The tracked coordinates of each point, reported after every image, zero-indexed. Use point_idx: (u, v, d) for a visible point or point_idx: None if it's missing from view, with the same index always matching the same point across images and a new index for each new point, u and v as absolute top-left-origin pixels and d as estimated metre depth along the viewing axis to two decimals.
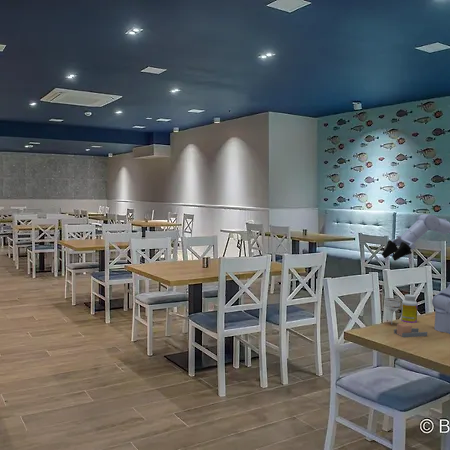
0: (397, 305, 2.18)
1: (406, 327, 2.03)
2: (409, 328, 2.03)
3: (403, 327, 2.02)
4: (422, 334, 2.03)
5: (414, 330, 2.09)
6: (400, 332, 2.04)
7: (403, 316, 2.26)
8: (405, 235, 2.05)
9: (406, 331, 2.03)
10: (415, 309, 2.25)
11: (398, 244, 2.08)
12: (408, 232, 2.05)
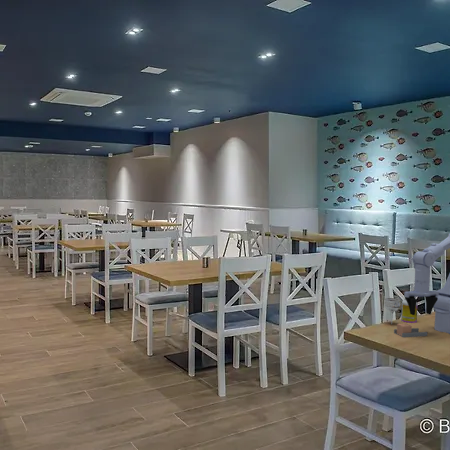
0: (397, 305, 2.18)
1: (406, 327, 2.03)
2: (409, 328, 2.03)
3: (403, 327, 2.02)
4: (422, 334, 2.03)
5: (414, 330, 2.09)
6: (400, 332, 2.04)
7: (403, 316, 2.26)
8: (428, 288, 2.03)
9: (406, 331, 2.03)
10: (415, 309, 2.25)
11: (418, 296, 2.05)
12: (428, 284, 2.03)
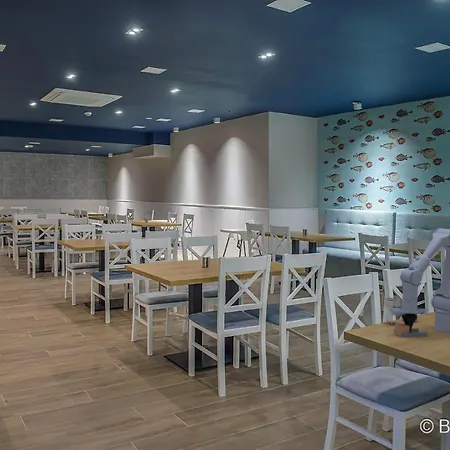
0: (397, 305, 2.18)
1: (404, 327, 2.02)
2: (407, 328, 2.03)
3: (401, 327, 2.02)
4: (422, 334, 2.03)
5: (414, 330, 2.09)
6: (398, 332, 2.03)
7: None
8: (415, 306, 2.02)
9: (404, 331, 2.03)
10: None
11: (406, 314, 2.04)
12: (416, 302, 2.02)
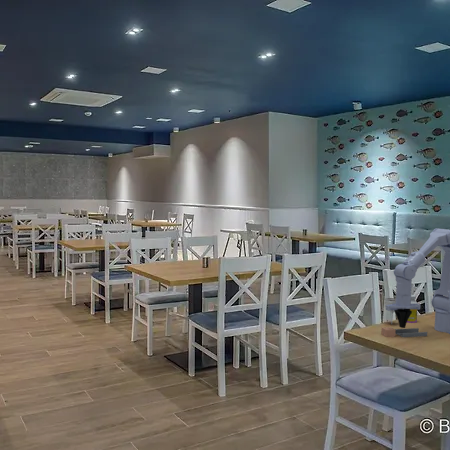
0: None
1: (387, 335, 2.01)
2: (388, 332, 2.01)
3: None
4: (422, 334, 2.03)
5: (414, 330, 2.09)
6: None
7: None
8: (409, 301, 2.02)
9: (390, 335, 2.02)
10: (415, 309, 2.25)
11: (399, 309, 2.03)
12: (409, 297, 2.01)
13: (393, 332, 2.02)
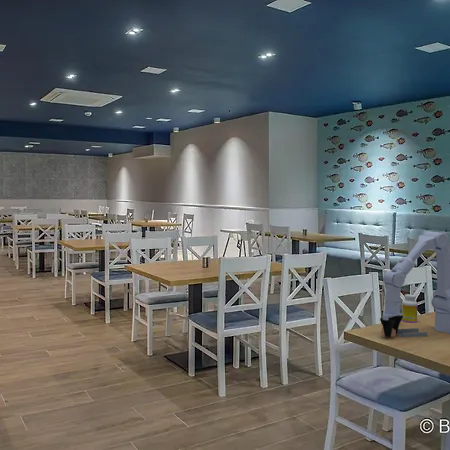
0: None
1: None
2: None
3: None
4: (422, 334, 2.03)
5: (414, 330, 2.09)
6: None
7: (403, 316, 2.26)
8: (399, 308, 2.02)
9: None
10: (415, 309, 2.25)
11: (391, 317, 2.02)
12: (399, 303, 2.02)
13: (393, 332, 2.02)
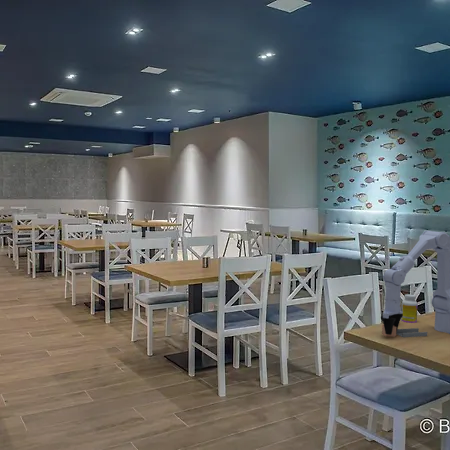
0: None
1: None
2: None
3: (387, 336, 2.02)
4: (422, 334, 2.03)
5: (414, 330, 2.09)
6: None
7: (403, 316, 2.26)
8: (399, 306, 2.02)
9: None
10: (415, 309, 2.25)
11: (391, 315, 2.02)
12: None
13: (394, 329, 2.02)
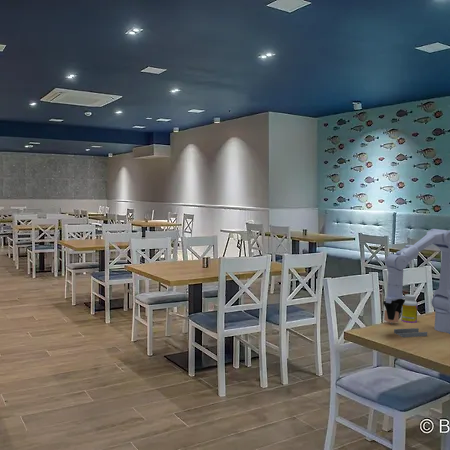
0: None
1: None
2: None
3: (390, 321, 2.01)
4: (422, 334, 2.03)
5: (414, 330, 2.09)
6: None
7: (403, 316, 2.26)
8: None
9: None
10: (415, 309, 2.25)
11: (393, 300, 2.01)
12: None
13: (396, 314, 2.02)
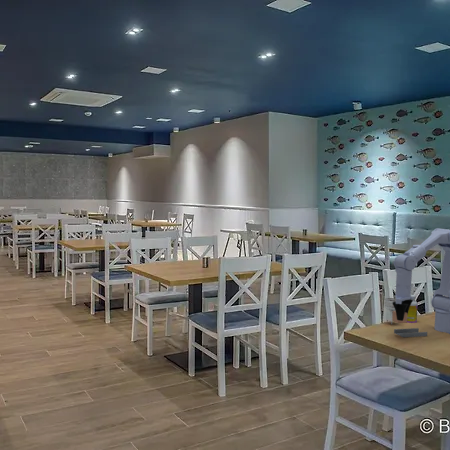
0: None
1: None
2: None
3: (399, 322, 2.00)
4: (422, 334, 2.03)
5: (414, 330, 2.09)
6: None
7: None
8: None
9: None
10: (415, 309, 2.25)
11: (402, 301, 2.00)
12: None
13: (405, 315, 2.01)
